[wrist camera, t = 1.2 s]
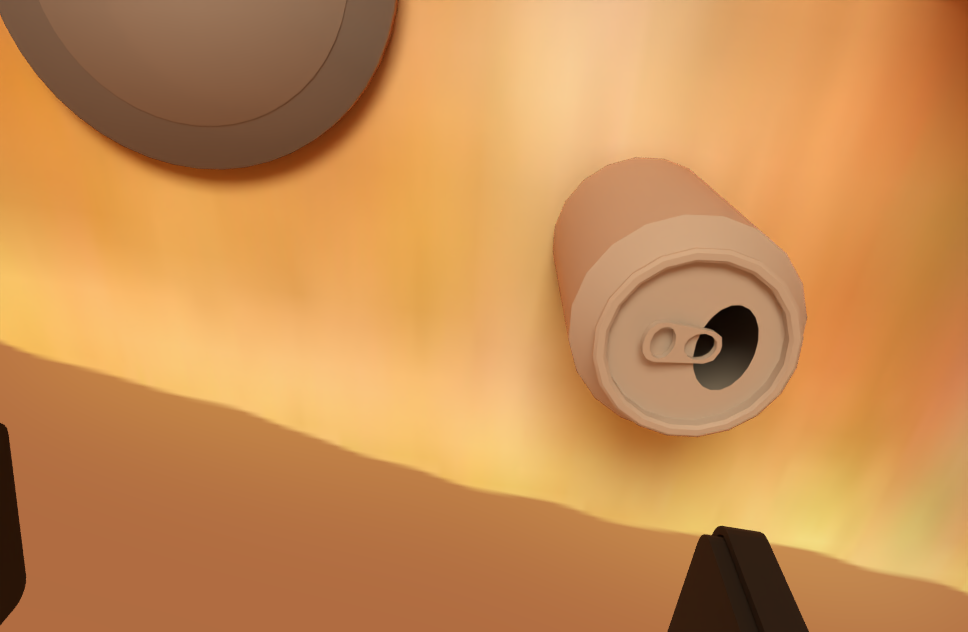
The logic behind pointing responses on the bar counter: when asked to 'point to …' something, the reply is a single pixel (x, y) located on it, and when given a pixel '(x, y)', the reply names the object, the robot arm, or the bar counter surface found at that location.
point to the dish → (205, 70)
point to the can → (674, 300)
